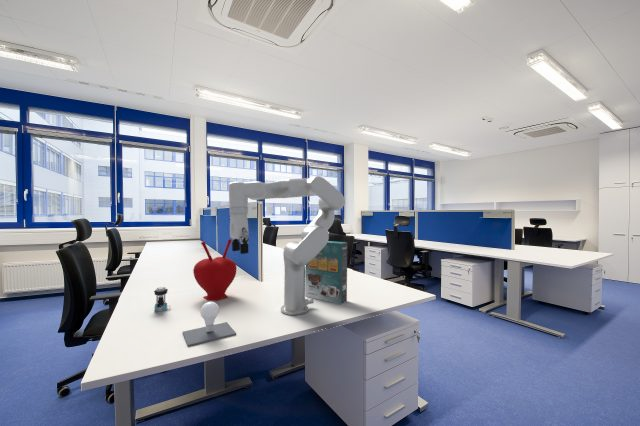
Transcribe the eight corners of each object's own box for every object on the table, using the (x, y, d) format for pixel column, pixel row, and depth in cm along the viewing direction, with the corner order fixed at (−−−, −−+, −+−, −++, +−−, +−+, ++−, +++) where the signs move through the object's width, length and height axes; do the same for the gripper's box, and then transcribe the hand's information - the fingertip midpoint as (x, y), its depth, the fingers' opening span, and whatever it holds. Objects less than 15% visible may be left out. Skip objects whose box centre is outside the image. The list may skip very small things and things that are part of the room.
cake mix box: (346, 301, 137) (347, 242, 138) (341, 304, 132) (341, 243, 132) (311, 293, 149) (312, 239, 149) (305, 296, 144) (305, 240, 144)
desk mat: (226, 323, 108) (226, 321, 108) (236, 334, 98) (236, 333, 98) (182, 333, 99) (182, 331, 99) (187, 346, 89) (187, 344, 89)
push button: (171, 307, 126) (171, 285, 126) (170, 311, 121) (170, 288, 121) (154, 309, 123) (155, 287, 123) (152, 313, 118) (153, 290, 118)
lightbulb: (207, 337, 94) (207, 306, 94) (196, 332, 98) (196, 302, 98) (222, 330, 100) (222, 301, 100) (211, 326, 103) (212, 298, 103)
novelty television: (226, 290, 153) (226, 238, 153) (240, 294, 146) (241, 239, 146) (190, 299, 136) (191, 240, 136) (204, 305, 129) (205, 242, 129)
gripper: (223, 211, 117) (224, 250, 118) (237, 211, 103) (238, 255, 104) (240, 211, 122) (241, 249, 122) (255, 211, 108) (256, 253, 108)
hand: (240, 252), depth 113 cm, fingers open, 9 cm apart
